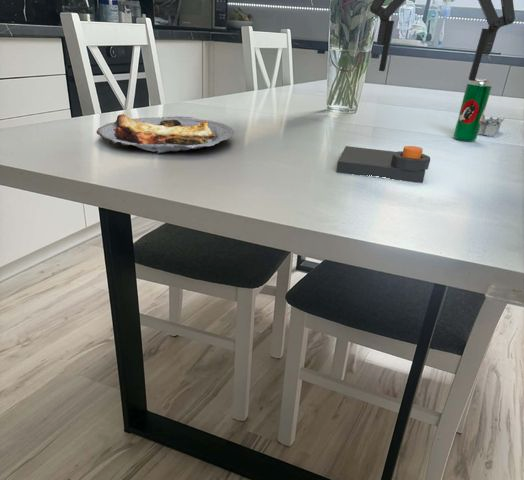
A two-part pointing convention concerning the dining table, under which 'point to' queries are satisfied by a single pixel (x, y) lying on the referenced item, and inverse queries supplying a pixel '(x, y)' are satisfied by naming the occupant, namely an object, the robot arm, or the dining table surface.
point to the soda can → (472, 109)
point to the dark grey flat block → (382, 164)
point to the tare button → (412, 152)
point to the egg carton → (490, 126)
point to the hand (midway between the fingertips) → (425, 75)
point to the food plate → (165, 133)
